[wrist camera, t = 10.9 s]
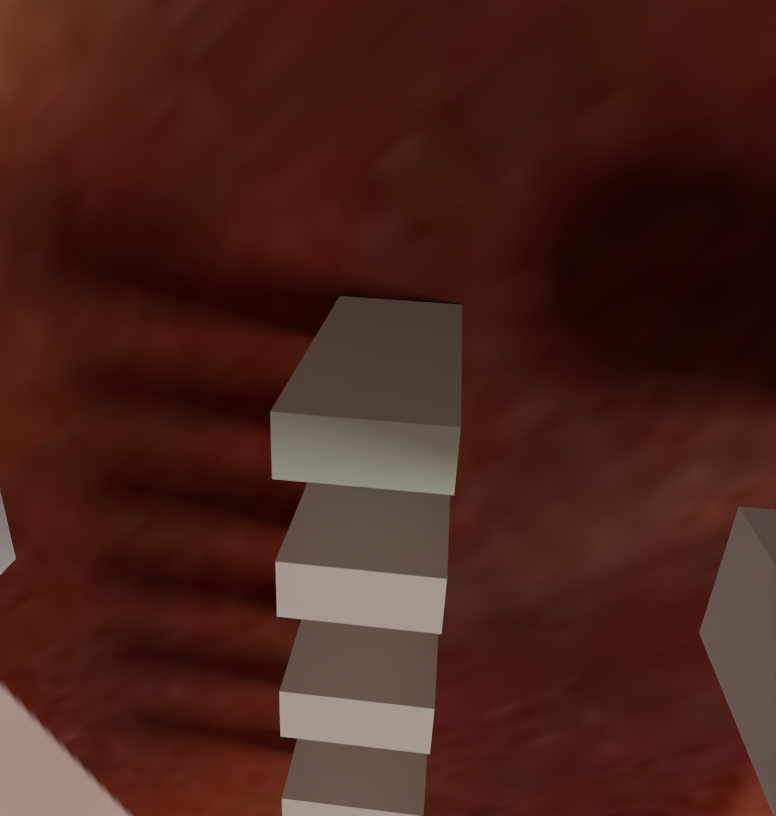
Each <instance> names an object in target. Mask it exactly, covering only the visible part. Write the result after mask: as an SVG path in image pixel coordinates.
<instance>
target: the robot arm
mask: <svg viewBox="0 0 776 816" xmlns="http://www.w3.org/2000/svg"><path fill="white" fill-rule="evenodd" d="M15 559H16V558H15V554H14V550H13V545H12V541H11V536H10V532H9V528H8V523H7V519H6V515H5V510H4V506H3V501H2V497H1V493H0V575H1V574H2V573H3V571H4V570H5V569H6V568H7V567H8V566H9V565H10V564H11V563H12V562H13V561H14V560H15ZM699 634H700V636H701V639H702V641H703V644H704V646H705V648H706V651H707V653H708V656H709V658H710V661H711V663H712V666H713V668H714V671H715V673H716V675H717V678H718V680H719V683H720V685H721V688H722V690H723V693H724V695H725V698H726V700H727V703H728V705H729V707H730V710H731V712H732V715H733V717H734V720H735V722H736V725H737V727H738V730H739V732H740V734H741V737H742V739H743V742H744V744H745V747H746V749H747V752H748V754H749V757H750V759H751V761H752V764H753V766H754V769H755V771H756V774H757V776H758V779H759V781H760V784H761V786H762V788H763V791H764V793H765V796H766V798H767V801H768V803H769V806H770V808H771V811H772V813H773V816H776V510H771V509H760V508H750V507H738V510H737V513H736V517H735V520H734V523H733V526H732V530H731V533H730V536H729V539H728V542H727V546H726V549H725V552H724V555H723V558H722V562H721V565H720V568H719V571H718V574H717V578H716V581H715V584H714V587H713V591H712V594H711V597H710V600H709V603H708V607H707V610H706V613H705V616H704V619H703V623H702V626H701V629H700V632H699Z"/></svg>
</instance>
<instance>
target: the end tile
mask: <svg viewBox="0 0 776 816" xmlns="http://www.w3.org/2000/svg"><path fill="white" fill-rule="evenodd" d="M461 359H462V305H461V304H446V303H432V302H418V301H404V300H389V299H375V298H361V297H346V296H340V297H339V298H338V300H337V302H336V303H335V305H334V307H333V308H332V310H331V312H330V313H329V315H328V317H327V318H326V320H325V322H324V323H323V325H322V326H321V328H320V330H319V331H318V333H317V335H316V336H315V338H314V340H313V341H312V343H311V345H310V346H309V348H308V350H307V351H306V353H305V355H304V356H303V358H302V360H301V361H300V363H299V365H298V366H297V368H296V370H295V371H294V373H293V375H292V376H291V378H290V380H289V381H288V383H287V385H286V386H285V388H284V390H283V391H282V393H281V395H280V396H279V398H278V400H277V401H276V403H275V405H274V406H273V408H272V409H271V411H270V423H271V457H272V479H277V480H289V481H300V482H311V483H322V484H333V485H344V486H356V487H367V488H378V489H389V490H400V491H411V492H423V493H434V494H445V495H454V491H455V481H456V471H457V460H458V450H459V440H460V430H461Z"/></svg>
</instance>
